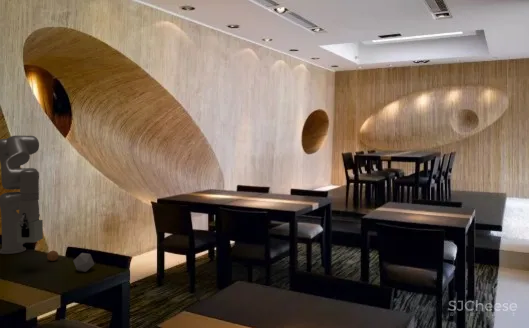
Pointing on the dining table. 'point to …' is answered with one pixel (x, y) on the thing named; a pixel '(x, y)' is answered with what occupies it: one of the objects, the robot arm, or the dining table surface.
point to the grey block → (31, 232)
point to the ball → (52, 255)
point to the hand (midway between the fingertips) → (30, 234)
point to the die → (83, 262)
